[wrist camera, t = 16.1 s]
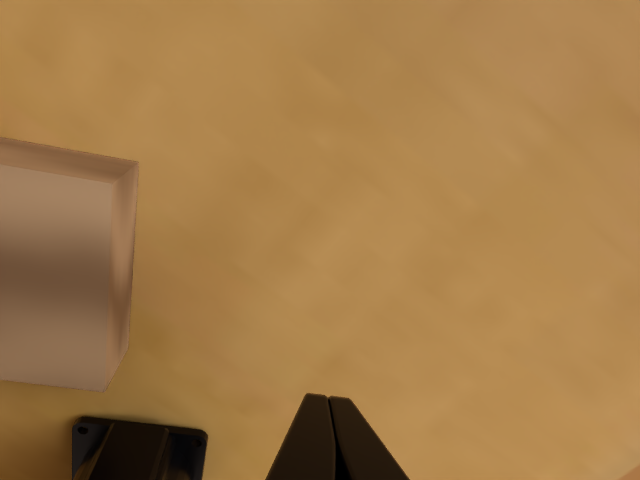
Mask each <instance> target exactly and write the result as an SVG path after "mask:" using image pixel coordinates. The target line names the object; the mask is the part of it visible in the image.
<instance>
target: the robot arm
mask: <svg viewBox="0 0 640 480" xmlns="http://www.w3.org/2000/svg"><path fill="white" fill-rule="evenodd" d="M83 427H86V428H83ZM196 439H198V440H200V441H196ZM207 442H208V435H207V434H206V432H204V431H202V430H198V429H189V428H180V427H172V426H163V425H154V424H146V423H137V422H128V421H120V420H111V419H102V418H94V417H80V418H78V419H77V420H76V422H75V424H74V426H73V428H72V480H202V476H203V469H204V462H205V456H206V449H207ZM265 480H410V479H409V478H408V477H407V475H406V474H405V472H404V471H403V470H402V468H401V467H400V466H399V464H398V463H397V462H396V460H395V459H394V457H393V456H392V455H391V453H390V452H389V451H388V449H387V448H386V447H385V445H384V444H383V443H382V441H381V440H380V438H379V437H378V436H377V434H376V433H375V432H374V430H373V429H372V428H371V426H370V425H369V423H368V422H367V421H366V419H365V418H364V417H363V415H362V414H361V413H360V411H359V410H358V408H357V407H356V406H355V404H354V403H353V402H352V400H350V399H349V398H345V397H337V396H330V397H328V398H327V396H325V395H321V394H313V393H307V394H306V395H305V396H304V398H303V401H302V403H301V405H300V407H299V409H298V411H297V413H296V415H295V418H294V420H293V422H292V424H291V426H290V428H289V430H288V432H287V435H286V437H285V439H284V441H283V443H282V445H281V447H280V450H279V452H278V454H277V456H276V458H275V460H274V462H273V464H272V467H271V469H270V471H269V473H268V475H267V477H266V479H265Z"/></svg>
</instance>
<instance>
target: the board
mask: <svg viewBox="0 0 640 480" xmlns="http://www.w3.org/2000/svg"><path fill="white" fill-rule="evenodd" d="M138 168H139V162H136V161H130V160H124V159H119V158H113V157H108V156H102V155H97V154H91V153H85V152H80V151H74V150H69V149H63V148H57V147H52V146H46V145H41V144H35V143H30V142H24V141H18V140H13V139H7V138H2V137H0V380H7V381H15V382H23V383H31V384H40V385H48V386H56V387H64V388H72V389H81V390H89V391H97V392H105V391H106V389H107V387H108V385H109V383H110V382H111V380H112V378H113V376H114V374H115V372H116V370H117V368H118V367H119V365H120V363H121V361H122V359H123V357H124V355H125V353H126V352H127V350H128V343H129V326H130V308H131V291H132V273H133V256H134V238H135V221H136V203H137V186H138Z"/></svg>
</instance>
